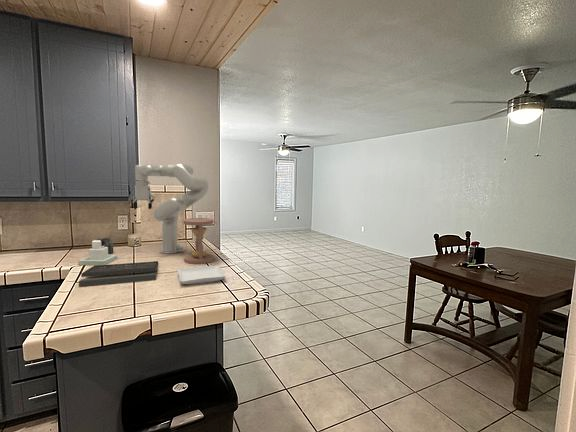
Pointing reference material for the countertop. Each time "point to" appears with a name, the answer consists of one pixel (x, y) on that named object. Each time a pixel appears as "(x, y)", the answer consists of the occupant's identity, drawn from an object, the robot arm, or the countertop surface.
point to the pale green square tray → (97, 261)
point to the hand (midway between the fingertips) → (142, 208)
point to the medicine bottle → (98, 250)
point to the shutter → (119, 270)
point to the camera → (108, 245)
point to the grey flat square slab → (200, 274)
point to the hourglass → (198, 241)
